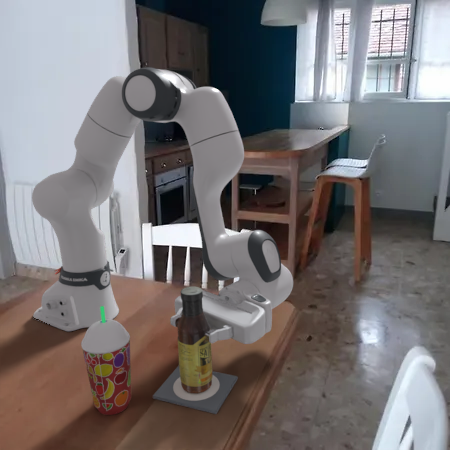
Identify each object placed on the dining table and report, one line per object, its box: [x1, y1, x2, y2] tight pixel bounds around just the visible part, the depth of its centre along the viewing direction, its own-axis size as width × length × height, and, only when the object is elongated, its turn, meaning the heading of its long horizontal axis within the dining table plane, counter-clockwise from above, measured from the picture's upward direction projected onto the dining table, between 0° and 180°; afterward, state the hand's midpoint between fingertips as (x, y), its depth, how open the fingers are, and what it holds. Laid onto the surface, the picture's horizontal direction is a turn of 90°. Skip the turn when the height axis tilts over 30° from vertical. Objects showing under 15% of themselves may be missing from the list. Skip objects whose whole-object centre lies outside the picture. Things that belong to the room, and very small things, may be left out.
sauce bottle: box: [176, 286, 213, 394], centre depth 83 cm, size 6×6×20 cm
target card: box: [152, 365, 239, 415], centre depth 86 cm, size 13×11×1 cm
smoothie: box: [80, 306, 132, 416], centre depth 80 cm, size 8×8×20 cm
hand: (189, 330), depth 82 cm, fingers open, 8 cm apart
